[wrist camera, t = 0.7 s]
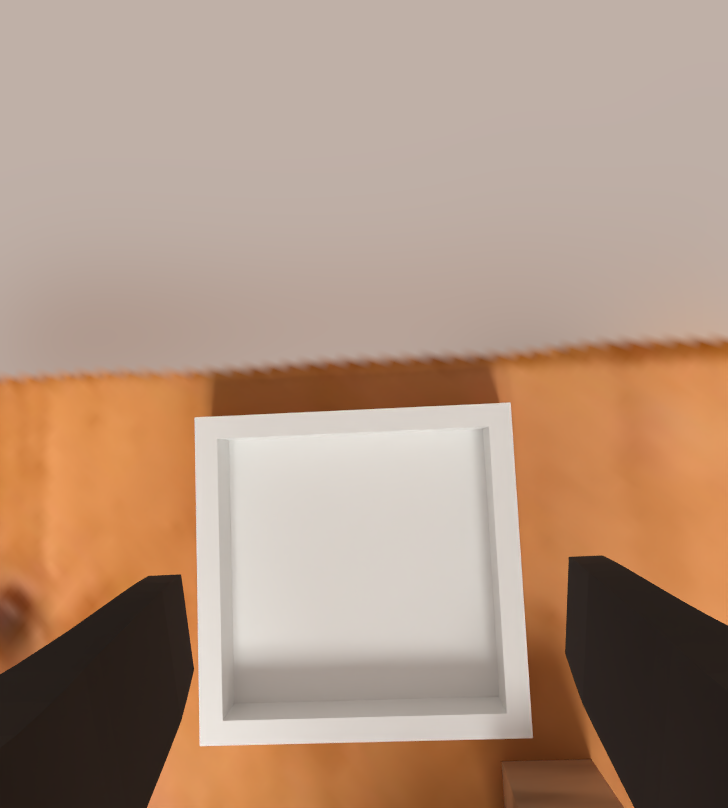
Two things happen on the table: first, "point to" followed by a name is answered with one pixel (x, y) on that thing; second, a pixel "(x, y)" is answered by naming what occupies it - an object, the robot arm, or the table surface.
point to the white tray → (360, 577)
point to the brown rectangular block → (556, 785)
